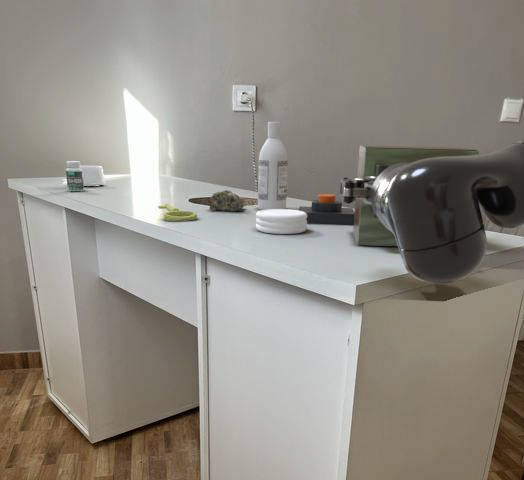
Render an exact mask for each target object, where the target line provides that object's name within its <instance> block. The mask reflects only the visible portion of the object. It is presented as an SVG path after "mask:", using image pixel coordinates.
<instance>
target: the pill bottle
mask: <svg viewBox="0 0 524 480" xmlns="http://www.w3.org/2000/svg"><path fill="white" fill-rule="evenodd" d="M81 166H82V164H81V161H77V160H67V161H66V169H65V176H66V186H67V191H68V192H71V191H81V192H84V191H85V187H84V183H83V171H82V169H81V168H80V167H81Z"/></svg>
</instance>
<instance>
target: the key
mask: <svg viewBox="0 0 524 480" xmlns="http://www.w3.org/2000/svg"><path fill="white" fill-rule="evenodd" d="M157 208H158V209H160V210H163V209H165V210H166V211H165V212H163V220H164V221H168V222H183V221H184V222H185V221H195V220H197V218H198V214H197V212H195V211H190V210H180V209H179V208H176V207H175V208H174V207H173V206H172V205H170V204H169V203H165V204H164V205H158V206H157Z"/></svg>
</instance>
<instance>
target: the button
mask: <svg viewBox="0 0 524 480" xmlns="http://www.w3.org/2000/svg"><path fill="white" fill-rule="evenodd" d="M318 200H319V202H321V203H335V201H336V194H329V193H325V194H324V193H323V194H321V193H320V194H319V195H318Z"/></svg>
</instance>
